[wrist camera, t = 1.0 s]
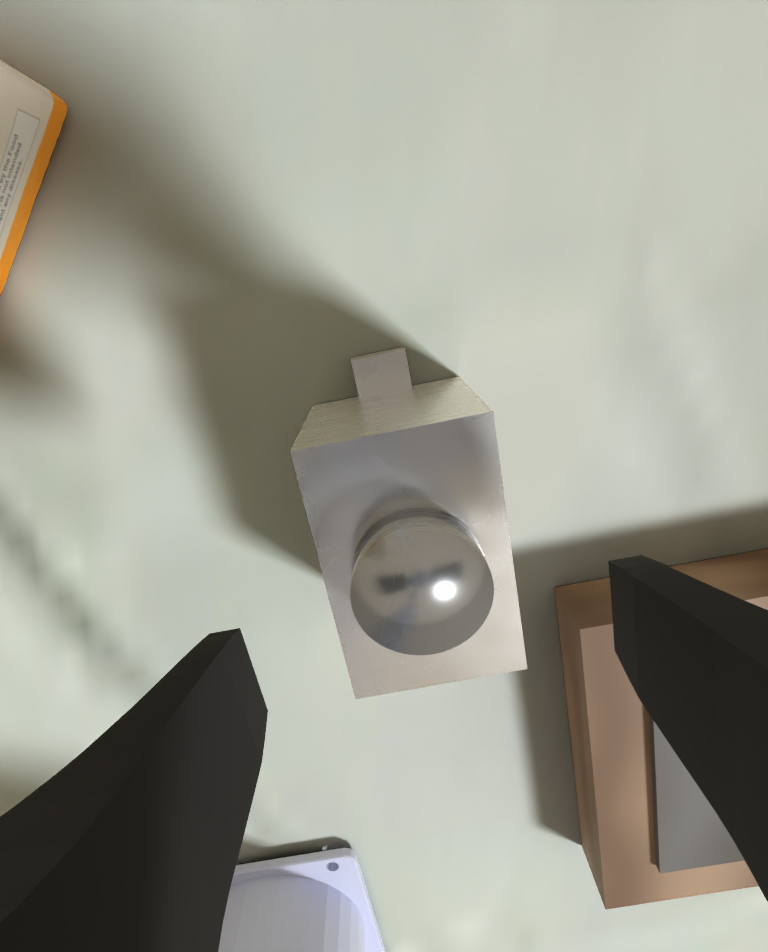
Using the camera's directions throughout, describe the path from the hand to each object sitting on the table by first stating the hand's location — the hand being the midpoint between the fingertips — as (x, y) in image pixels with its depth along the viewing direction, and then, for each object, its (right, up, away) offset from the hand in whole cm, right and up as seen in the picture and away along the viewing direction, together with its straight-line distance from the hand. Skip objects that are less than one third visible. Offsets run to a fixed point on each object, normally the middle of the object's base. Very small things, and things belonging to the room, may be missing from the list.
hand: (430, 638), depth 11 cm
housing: (0, +3, +7) cm, 8 cm away
